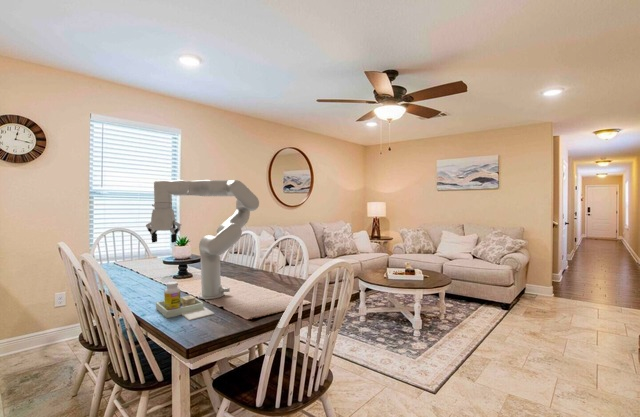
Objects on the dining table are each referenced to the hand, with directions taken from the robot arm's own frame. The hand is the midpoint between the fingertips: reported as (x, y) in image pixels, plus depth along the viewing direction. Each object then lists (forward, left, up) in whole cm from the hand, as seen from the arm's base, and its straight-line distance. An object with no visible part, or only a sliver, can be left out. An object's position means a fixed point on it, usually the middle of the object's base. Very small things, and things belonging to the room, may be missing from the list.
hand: (164, 242), depth 160 cm
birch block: (-11, +6, -30) cm, 33 cm away
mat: (-17, +16, -30) cm, 38 cm away
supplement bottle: (-5, +9, -31) cm, 32 cm away
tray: (-8, +8, -30) cm, 32 cm away
